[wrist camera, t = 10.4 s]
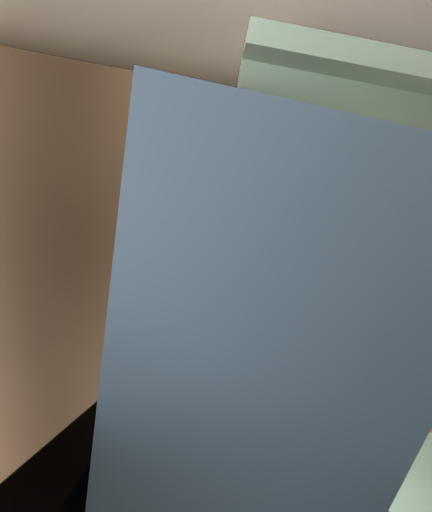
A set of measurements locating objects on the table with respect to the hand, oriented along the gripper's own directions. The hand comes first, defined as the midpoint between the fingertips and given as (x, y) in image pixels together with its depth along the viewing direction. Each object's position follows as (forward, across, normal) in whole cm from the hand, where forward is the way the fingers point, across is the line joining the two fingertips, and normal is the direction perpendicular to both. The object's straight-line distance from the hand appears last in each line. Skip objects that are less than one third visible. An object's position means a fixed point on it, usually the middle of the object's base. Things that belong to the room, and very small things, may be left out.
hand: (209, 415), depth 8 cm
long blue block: (+2, 0, 0) cm, 2 cm away
